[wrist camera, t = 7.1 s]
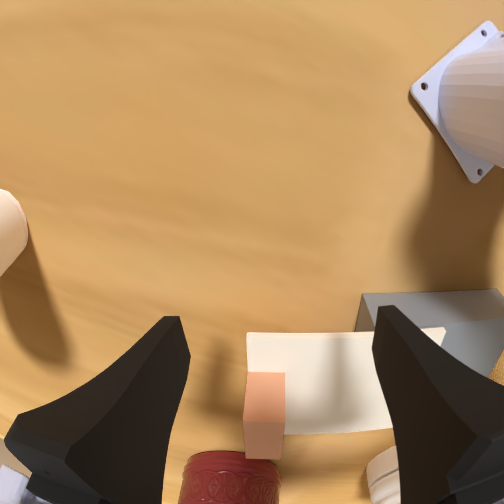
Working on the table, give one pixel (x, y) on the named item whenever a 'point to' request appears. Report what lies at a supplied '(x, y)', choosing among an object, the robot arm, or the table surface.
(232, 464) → the canister
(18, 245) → the foam cup
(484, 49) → the robot arm
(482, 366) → the carton
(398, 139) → the table surface
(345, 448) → the table surface
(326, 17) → the table surface
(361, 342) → the carton lid
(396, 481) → the honey pot
